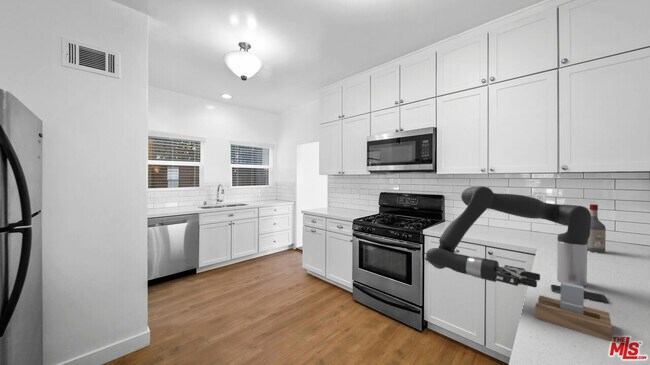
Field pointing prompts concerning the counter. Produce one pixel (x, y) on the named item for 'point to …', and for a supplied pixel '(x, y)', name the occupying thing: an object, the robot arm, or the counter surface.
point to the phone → (587, 294)
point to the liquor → (596, 232)
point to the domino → (572, 298)
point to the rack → (575, 318)
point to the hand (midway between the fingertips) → (538, 280)
